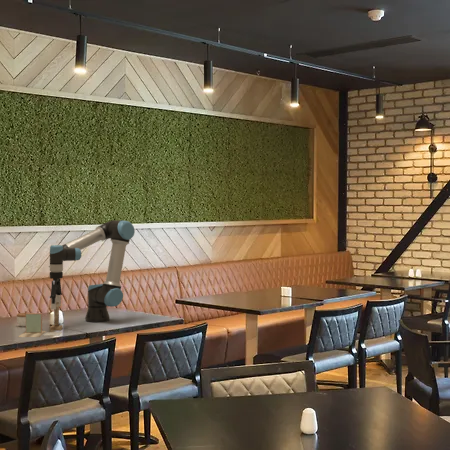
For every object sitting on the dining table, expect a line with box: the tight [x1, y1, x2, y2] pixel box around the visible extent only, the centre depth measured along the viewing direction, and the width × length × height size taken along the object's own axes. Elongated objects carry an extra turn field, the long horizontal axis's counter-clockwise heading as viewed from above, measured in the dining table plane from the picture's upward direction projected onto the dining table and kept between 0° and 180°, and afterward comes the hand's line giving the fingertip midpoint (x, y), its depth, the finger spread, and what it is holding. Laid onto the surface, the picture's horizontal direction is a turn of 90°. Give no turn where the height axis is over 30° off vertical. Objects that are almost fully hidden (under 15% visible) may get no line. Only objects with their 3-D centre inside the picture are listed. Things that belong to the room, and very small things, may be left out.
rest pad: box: [42, 331, 62, 337], centre depth 414 cm, size 9×9×1 cm
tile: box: [25, 312, 43, 333], centre depth 418 cm, size 9×2×11 cm, turn 92°
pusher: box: [50, 302, 64, 332], centre depth 428 cm, size 6×6×16 cm
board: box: [17, 330, 47, 338], centre depth 414 cm, size 12×18×1 cm, turn 2°
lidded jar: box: [16, 311, 28, 328], centre depth 441 cm, size 11×11×9 cm
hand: (55, 307), depth 428 cm, fingers open, 13 cm apart
